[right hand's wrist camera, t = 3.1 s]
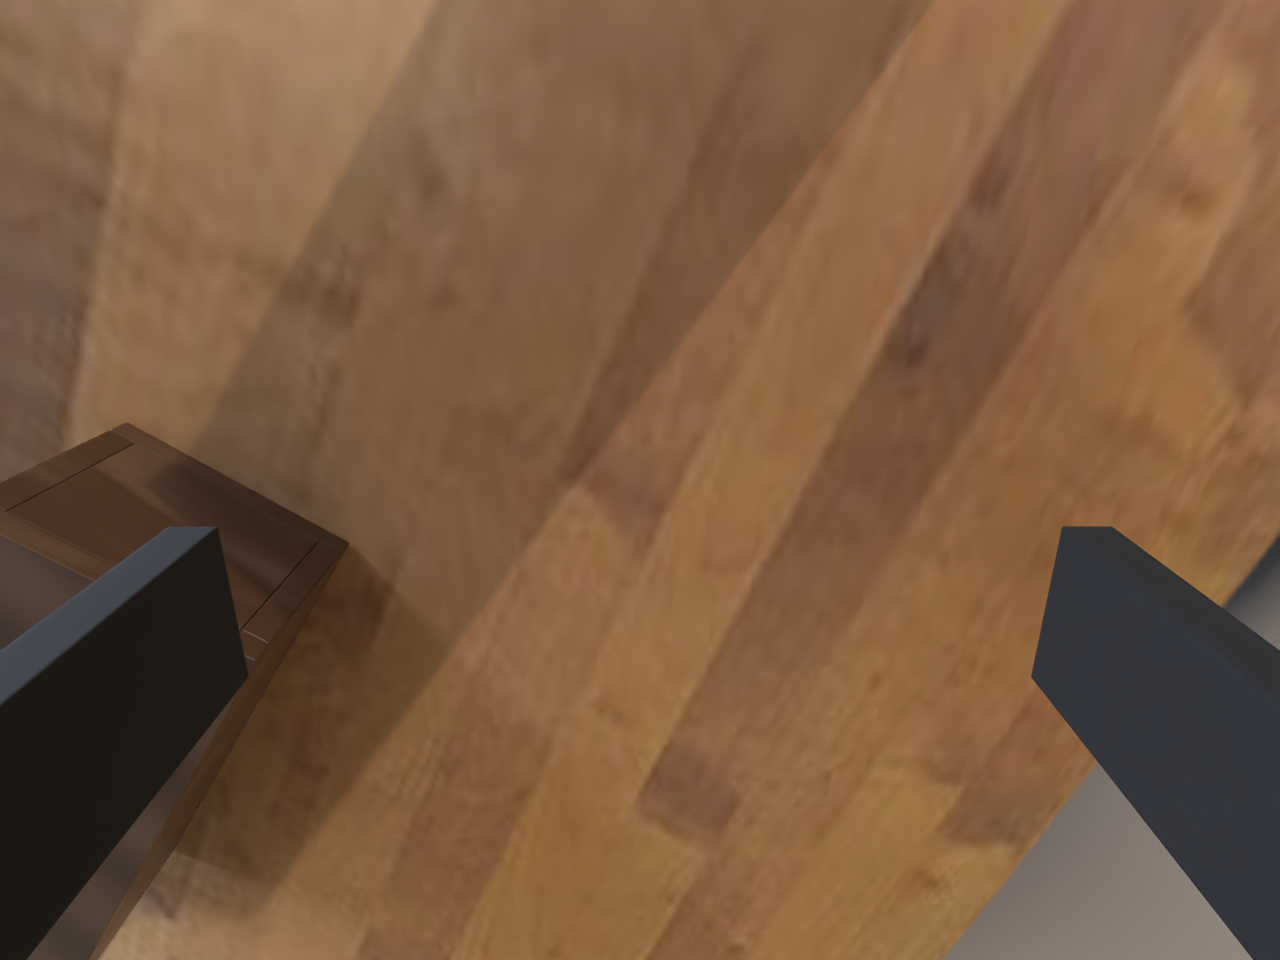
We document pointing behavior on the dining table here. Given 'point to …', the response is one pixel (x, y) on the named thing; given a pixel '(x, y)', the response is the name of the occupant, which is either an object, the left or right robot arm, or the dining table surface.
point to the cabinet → (96, 542)
